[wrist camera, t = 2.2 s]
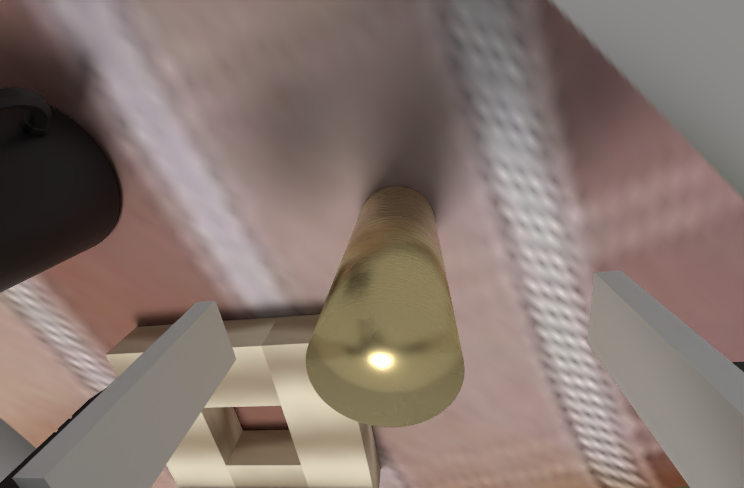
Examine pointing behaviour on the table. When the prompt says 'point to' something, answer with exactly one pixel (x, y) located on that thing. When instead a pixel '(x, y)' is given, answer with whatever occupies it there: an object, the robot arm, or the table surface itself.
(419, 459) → the table surface
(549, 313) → the table surface
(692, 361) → the robot arm
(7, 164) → the mug
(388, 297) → the pale yellow cylinder
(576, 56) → the table surface
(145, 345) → the jig
